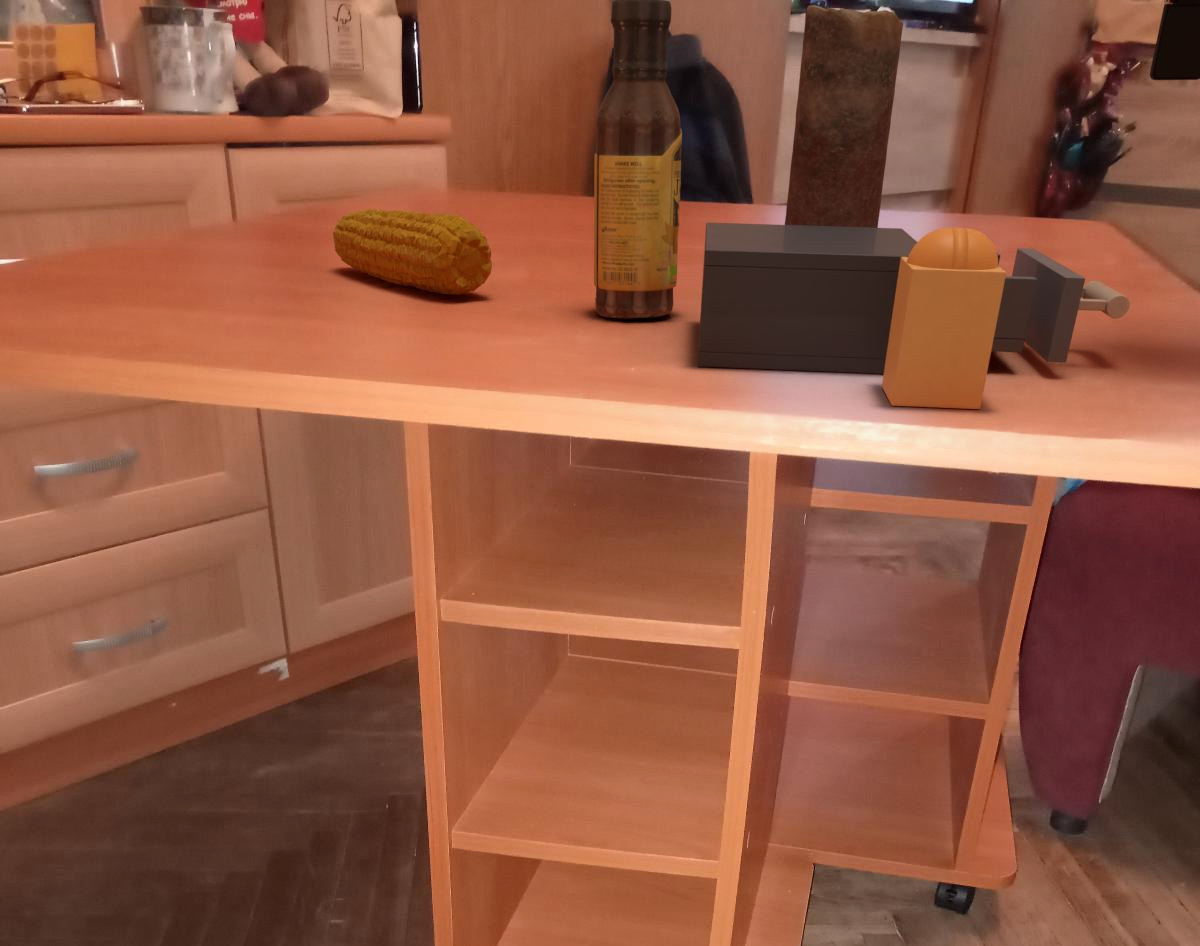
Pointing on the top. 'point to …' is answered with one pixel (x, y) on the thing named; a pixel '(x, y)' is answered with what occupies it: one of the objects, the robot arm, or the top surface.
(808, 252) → the cabinet
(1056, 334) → the drawer
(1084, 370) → the top surface
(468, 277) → the food
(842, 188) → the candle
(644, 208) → the sauce bottle
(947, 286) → the orange container
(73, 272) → the top surface
